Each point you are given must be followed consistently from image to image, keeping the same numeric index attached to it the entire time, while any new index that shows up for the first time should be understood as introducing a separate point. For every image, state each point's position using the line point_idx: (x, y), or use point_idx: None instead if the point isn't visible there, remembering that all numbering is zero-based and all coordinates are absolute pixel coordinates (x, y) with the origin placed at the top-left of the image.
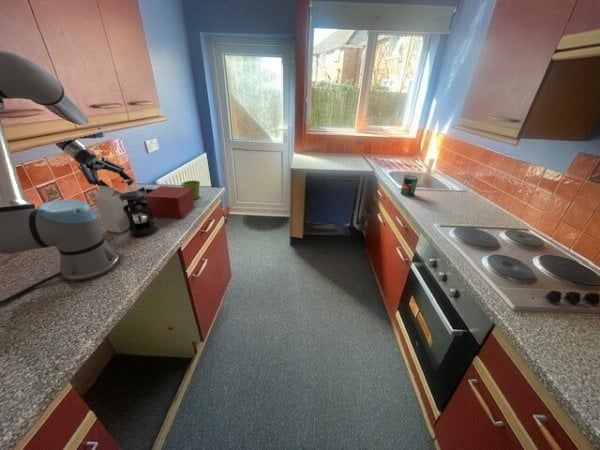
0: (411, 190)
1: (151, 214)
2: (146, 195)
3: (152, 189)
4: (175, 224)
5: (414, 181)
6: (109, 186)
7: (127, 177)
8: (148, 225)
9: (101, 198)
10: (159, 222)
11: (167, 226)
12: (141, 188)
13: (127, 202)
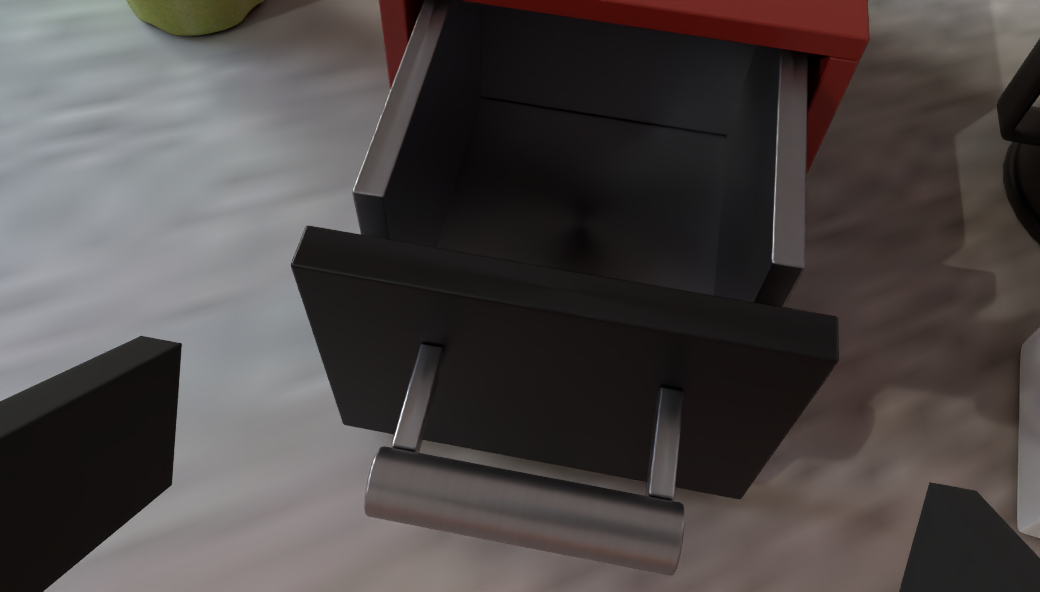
0: None
1: (1030, 56)
2: (841, 15)
3: (422, 92)
4: (901, 13)
5: None
6: (1000, 553)
7: (78, 428)
8: (1025, 178)
9: None
10: (887, 137)
11: (955, 58)
12: (377, 246)
13: (798, 416)
